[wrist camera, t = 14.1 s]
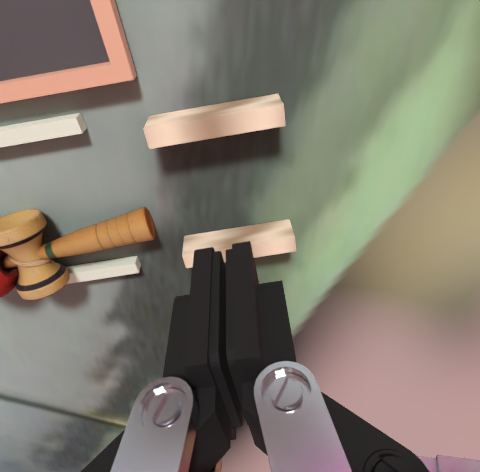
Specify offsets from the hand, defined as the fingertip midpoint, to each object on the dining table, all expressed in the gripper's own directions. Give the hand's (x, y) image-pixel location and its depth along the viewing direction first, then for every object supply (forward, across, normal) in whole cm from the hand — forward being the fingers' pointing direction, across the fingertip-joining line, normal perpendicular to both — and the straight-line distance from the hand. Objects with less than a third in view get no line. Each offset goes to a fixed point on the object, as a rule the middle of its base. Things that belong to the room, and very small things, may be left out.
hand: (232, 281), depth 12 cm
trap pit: (+21, +12, -7) cm, 25 cm away
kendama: (+20, +18, +10) cm, 29 cm away
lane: (+21, +2, +7) cm, 22 cm away
